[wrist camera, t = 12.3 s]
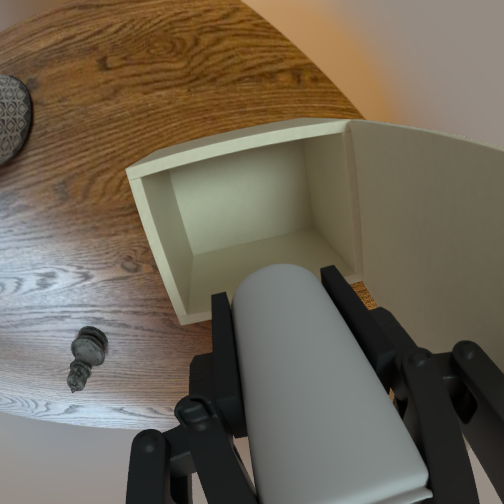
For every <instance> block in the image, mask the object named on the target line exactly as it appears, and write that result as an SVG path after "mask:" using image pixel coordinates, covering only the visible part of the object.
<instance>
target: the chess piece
mask: <svg viewBox="0 0 504 504" xmlns="http://www.w3.org/2000/svg"><path fill="white" fill-rule="evenodd" d="M107 345H108V340H107V338H106V336H105V335H104V333H103V332H102V331H100V330H99V329H97V328H95V327H91V326H86V327H83V328H82V329H81V330H80V331H79V337H78V338H77V339H76V340H74V341H73V342H72V344H71V351H72V354H73V355H74V357H75V360H74V361H73V362H72V363H71V364H70V369H71V371H70V373H69V375H68V378H67V384H68V386H69V387H70V388H71V392H72V393H73V392H75V391H81V390H83V389H84V387H85V384H86V381H87V378H89V377H90V376H91V375H92V372H91V368H92V366H99V365H101V364H102V363H103V362H104V358H105V356H104V349H106V347H107Z"/></svg>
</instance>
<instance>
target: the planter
mask: <svg viewBox="0 0 504 504" xmlns="http://www.w3.org/2000/svg"><path fill="white" fill-rule="evenodd" d="M30 120H31V102H30V97H29V94H28V91H27V89H26V87H25V86H24V84H23V83H22V82H21V81H20V80H19V79H17V78H16V77H14V76H9V75H0V165H1V164H3V163H6V162H7V161H9V160H10V159H11V158H13V157H14V156H15V155H16V153H17V152H18V151H19V149H20V148H21V146H22V145H23V143H24V141H25V138H26V136H27V133H28V130H29V126H30Z"/></svg>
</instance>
